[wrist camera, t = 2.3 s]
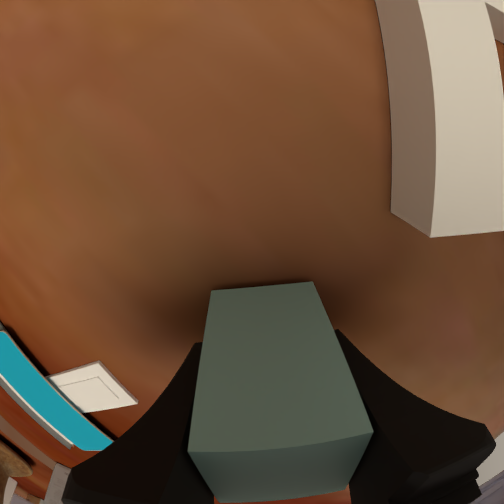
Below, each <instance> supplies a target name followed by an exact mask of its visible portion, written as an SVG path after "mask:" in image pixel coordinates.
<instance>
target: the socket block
mask: <svg viewBox="0 0 504 504" xmlns="http://www.w3.org/2000/svg"><path fill="white" fill-rule="evenodd" d="M375 3H376V7H377V12H378V17H379V22H380V28H381V33H382V39H383V46H384V53H385V60H386V68H387V77H388V87H389V98H390V113H391V135H392V188H391V211H390V212H391V213H393V214H394V215H396V216H398V217H399V218H401V219H402V220H404V221H406V222H407V223H409V224H410V225H412V226H413V227H415V228H416V229H418V230H419V231H421V232H422V233H424V234H425V235H427V236H428V237H430V238H432V237H443V236H453V235H464V234H475V233H486V232H497V231H504V97H503V87H502V79H501V72H500V65H499V59H498V54H497V49H496V44H495V39H496V40H498V41H500V42H502V43H504V0H375Z"/></svg>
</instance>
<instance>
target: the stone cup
mask: <svg viewBox="0 0 504 504" xmlns="http://www.w3.org/2000/svg"><path fill="white" fill-rule="evenodd" d="M32 473H33V470H32V468H31V466H30V465H29V464H28V463H27V462H26V461H25V460H24V459H23V458H22V457H21V456H19V455H18V454H17V453H16V452H15V451H14V450H12V449H11V448H10V447H9V446H7V445H6V444H5V443H4V442H2V441H1V440H0V504H3V501H4V492H5V488H6V484H7V481H8V478H9V476H12V477H24V476H30V475H32Z"/></svg>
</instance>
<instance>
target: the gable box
mask: <svg viewBox="0 0 504 504" xmlns="http://www.w3.org/2000/svg"><path fill="white" fill-rule="evenodd" d="M16 485H17V482H16V481H15V480H14V479H12V478H11V477H9V478H8V481H7V484H6V488H5V492H4V501H3V504H10V502H11V499H12V496H13V494H14V491H15V488H16Z"/></svg>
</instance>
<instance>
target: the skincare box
mask: <svg viewBox="0 0 504 504" xmlns="http://www.w3.org/2000/svg"><path fill="white" fill-rule="evenodd" d="M70 471H71V469H70V468H68V467H66V466H63V465H61V464H59V463H56V465H55V467H54V470H53V473H52V476H51V479H50V483H49V486H48V489H47V493H46V496H45V499H44V503H43V504H63V502H62V501H61V498H62V495H63V491H64V488H65V485H66V482H67V478H68V476H69V473H70Z"/></svg>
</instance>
